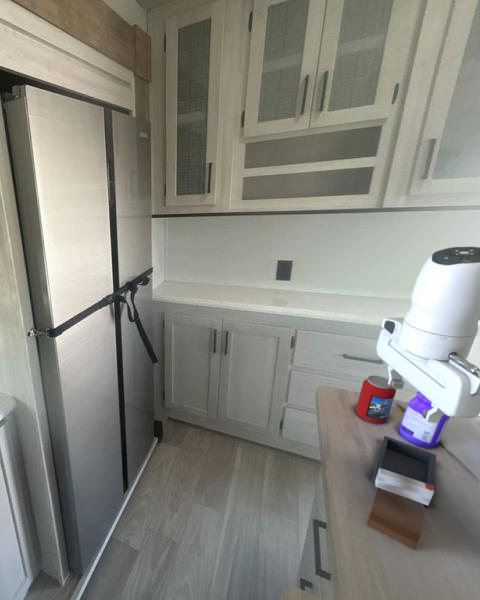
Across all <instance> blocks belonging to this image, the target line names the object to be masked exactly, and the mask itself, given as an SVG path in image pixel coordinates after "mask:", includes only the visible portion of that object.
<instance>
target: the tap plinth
mask: <svg viewBox="0 0 480 600" xmlns="http://www.w3.org/2000/svg"><path fill="white" fill-rule="evenodd" d="M369 509H370V510H369V512H368V513H369V514H368V518H367V521H366V525H367V526H369V527H370V528H372V529H374V530H376V531H378V532H380V533H381V534H384V535H386V536H387V537H389V538H392V539H393V540H395V541H397V542H398V543H401V544H402V545H404V546H406V547H408V548H409V549H412V550H414V551H415V550H416V548H417V545H418V543H419V541H420V538H421V535H422V526H423V518H424V510H425V507H424V504H422V503H419V502H417V501H414V500H411V499H408V498H406V497H403V496H400V495H397V494H395V493H392V492H389V491H386V490H384V489H381V488H378V487H376V486H375V490H374V494H373V498H372V502H371V506H370V508H369Z"/></svg>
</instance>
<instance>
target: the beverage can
mask: <svg viewBox="0 0 480 600" xmlns="http://www.w3.org/2000/svg"><path fill="white" fill-rule="evenodd" d="M388 382H389V378H387V377H385V376H381V375H369V376H368V377H367V378H365V379H364V380H363V382H362V385H361V388H360V392H359V396H358V399H357V403H356V408H355V412H356V414H357V415H358V416H359V417H361V418H362V419H364V420H366V421H368V422H370V423H375V424H382V423H385V422H387V421H388V418H389V415H390V413H391V412H390V411H391V409H392V406H393V403H394V400H395V396H396V393H397V389H393V388H392V387H391V386H390V385H389V384H388Z"/></svg>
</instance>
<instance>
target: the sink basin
mask: <svg viewBox="0 0 480 600" xmlns="http://www.w3.org/2000/svg"><path fill="white" fill-rule="evenodd" d="M436 462H437V454H435V453H433V452H430V451H428V450H425V449H422V448H419V447H416V446H414V445H411V444H408V443H406V442H403V441H401V440H398V439H395V438H392V437H390V436H387V435H383V439H382V442H381V446H380V449H379V452H378V457H377V460H376V464H375V466H374V467H375V468H374V471H373V475H372V478H371V482H370V483H371V484H373V485H375V480H376V477H377V474H378V471H379V468H382V469H385V470H388V471H391V472H394V473H397V474H399V475H402V476H405V477H408V478H411V479H414V480H417V481H420V482H423V483H428V484H431V485H432V486H433V487H434V482H435V474H436V464H437V463H436ZM428 507H429V505H425V504H424V509H425V508H426V509H428Z"/></svg>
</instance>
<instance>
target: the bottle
mask: <svg viewBox="0 0 480 600" xmlns="http://www.w3.org/2000/svg"><path fill="white" fill-rule="evenodd" d="M431 403H432V402H431V401H430V400H429V399H428V398H426V397H425V396H424V395H423V394H422V393H421V392H420V391H418V390H417V391H416V395H415V396H414V397H413V398H411V399H410V400H409V401H408V403H407V406H406V409H405V411H404V414H403V416H402V419H401V422H400V425H399V433H400V434H401V435H402V436H403V438H405V439H407V440H408V441H410V442H412V443H414V444H415V445H418V446H420V447H423V448H427V449H429V448H433V447H435V446H436V445H438V444H439V442H440V441H441V439H442V436H443V434H444V432H445V430H446V428H447V425H448V423H449V421H450V419H451V417H450V416H447V415H446V414H445V415H443V416H442V417H441V419H440V421H439V422H438V423H430V422H428V421H427V420H426V419H425V418H424V417H423V416H422V414H423V410H424V409H429V410H431V409H432V408H433V407H432V406H431Z"/></svg>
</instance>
